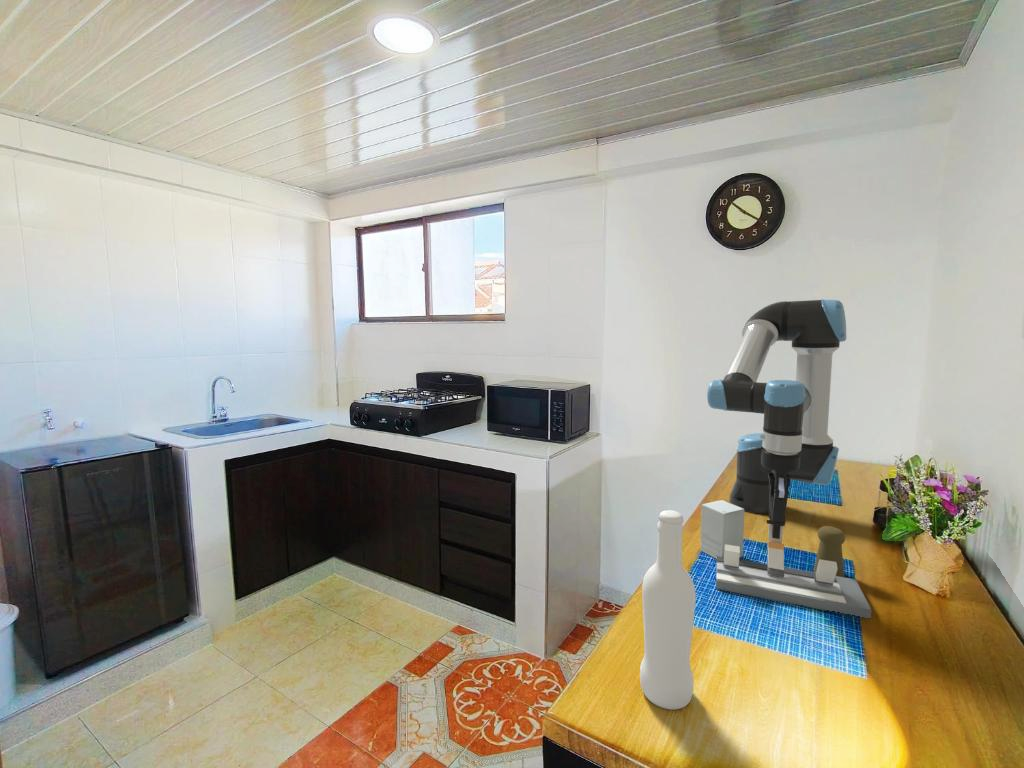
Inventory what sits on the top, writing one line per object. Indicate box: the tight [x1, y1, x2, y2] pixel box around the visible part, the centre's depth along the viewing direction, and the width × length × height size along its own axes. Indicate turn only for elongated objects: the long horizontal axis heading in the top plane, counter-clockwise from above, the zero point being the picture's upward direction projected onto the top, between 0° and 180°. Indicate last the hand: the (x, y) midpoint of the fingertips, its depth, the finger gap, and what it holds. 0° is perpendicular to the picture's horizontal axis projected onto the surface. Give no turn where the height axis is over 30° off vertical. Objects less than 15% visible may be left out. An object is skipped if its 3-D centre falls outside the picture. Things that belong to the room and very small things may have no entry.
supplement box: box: [700, 499, 745, 560], centre depth 118 cm, size 7×7×13 cm
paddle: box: [767, 541, 785, 577], centre depth 104 cm, size 2×3×7 cm, turn 66°
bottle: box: [639, 509, 697, 711], centre depth 73 cm, size 8×8×30 cm
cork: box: [812, 525, 846, 577], centre depth 108 cm, size 6×6×11 cm
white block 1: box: [723, 544, 740, 569], centre depth 106 cm, size 2×3×7 cm
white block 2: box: [814, 559, 838, 585], centre depth 98 cm, size 2×3×7 cm
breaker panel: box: [715, 556, 872, 619], centre depth 103 cm, size 12×28×2 cm, turn 66°
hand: (774, 549), depth 107 cm, fingers closed
